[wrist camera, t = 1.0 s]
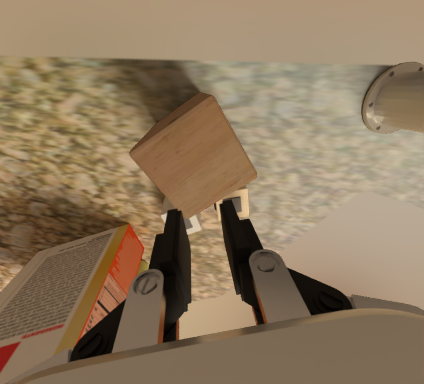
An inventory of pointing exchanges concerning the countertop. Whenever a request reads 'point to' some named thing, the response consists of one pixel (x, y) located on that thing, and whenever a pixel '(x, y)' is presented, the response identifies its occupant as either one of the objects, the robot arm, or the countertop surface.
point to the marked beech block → (236, 202)
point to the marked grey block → (190, 224)
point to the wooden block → (194, 156)
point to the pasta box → (64, 296)
